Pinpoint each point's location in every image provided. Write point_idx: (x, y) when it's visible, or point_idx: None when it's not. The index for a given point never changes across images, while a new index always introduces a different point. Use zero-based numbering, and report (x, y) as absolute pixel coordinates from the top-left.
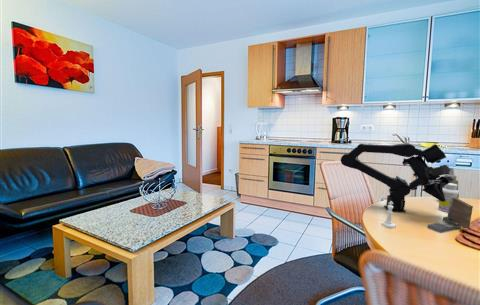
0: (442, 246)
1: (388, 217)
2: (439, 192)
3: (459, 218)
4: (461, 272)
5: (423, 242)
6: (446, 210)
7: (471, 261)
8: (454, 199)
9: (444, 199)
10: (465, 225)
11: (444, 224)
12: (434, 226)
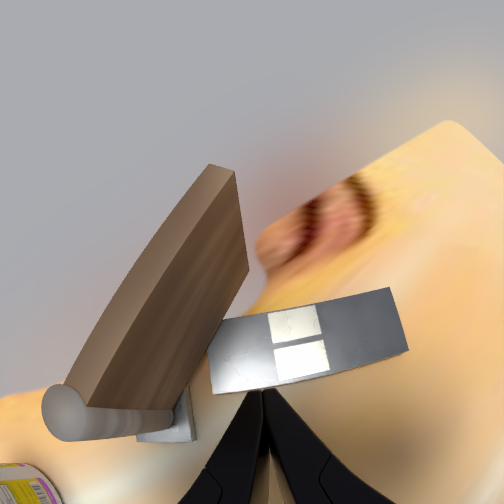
0: (448, 203)
1: None
2: (311, 463)
3: (209, 315)
4: (460, 132)
5: (487, 232)
6: (54, 494)
7: (418, 143)
8: (105, 384)
9: (261, 397)
10: (247, 262)
11: (309, 342)
12: (390, 326)
